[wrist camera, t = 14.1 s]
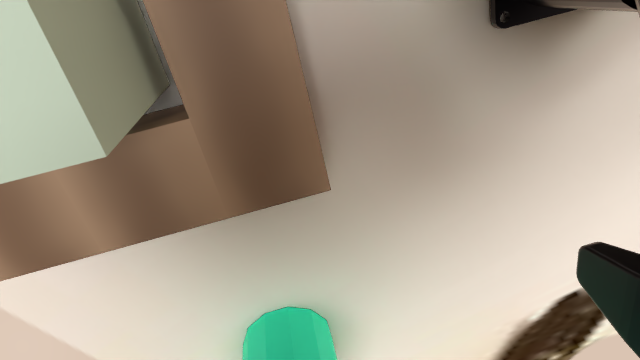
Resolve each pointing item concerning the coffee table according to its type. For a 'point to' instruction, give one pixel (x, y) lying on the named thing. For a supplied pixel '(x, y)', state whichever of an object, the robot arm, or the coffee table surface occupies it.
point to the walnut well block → (182, 144)
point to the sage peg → (71, 81)
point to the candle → (289, 336)
